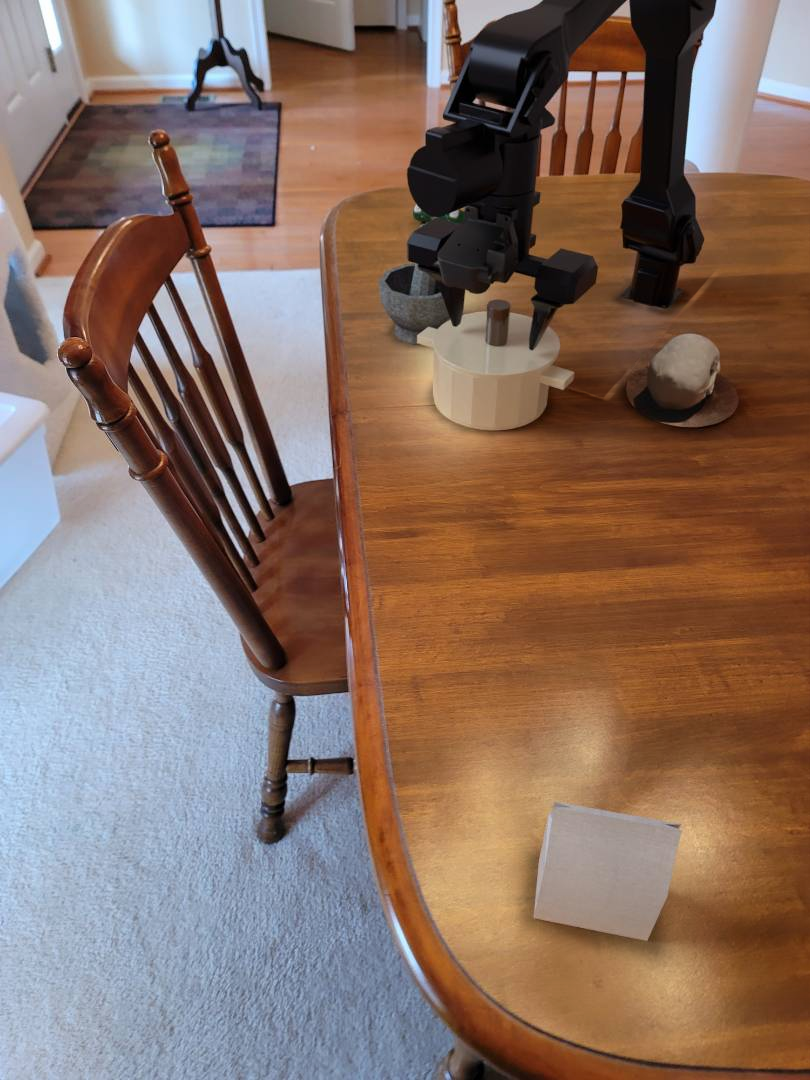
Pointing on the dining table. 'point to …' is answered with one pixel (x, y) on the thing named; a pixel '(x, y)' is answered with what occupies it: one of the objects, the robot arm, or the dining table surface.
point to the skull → (684, 385)
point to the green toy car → (423, 217)
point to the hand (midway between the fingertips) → (493, 336)
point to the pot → (491, 394)
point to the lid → (494, 344)
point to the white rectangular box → (605, 870)
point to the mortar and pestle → (412, 301)
